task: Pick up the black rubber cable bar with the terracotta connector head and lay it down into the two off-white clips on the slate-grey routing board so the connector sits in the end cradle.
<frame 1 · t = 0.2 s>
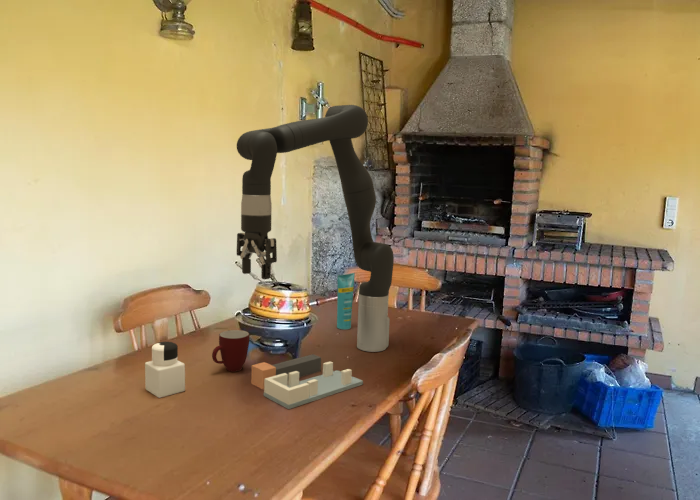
hand: (255, 276, 151), 28 cm above the table, fingers open, 8 cm apart
medicine bottle: (165, 391, 147), on the table
cable bar: (294, 376, 160), on the table
mug: (230, 371, 162), on the table
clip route: (320, 388, 152), on the table
tube: (344, 328, 206), on the table
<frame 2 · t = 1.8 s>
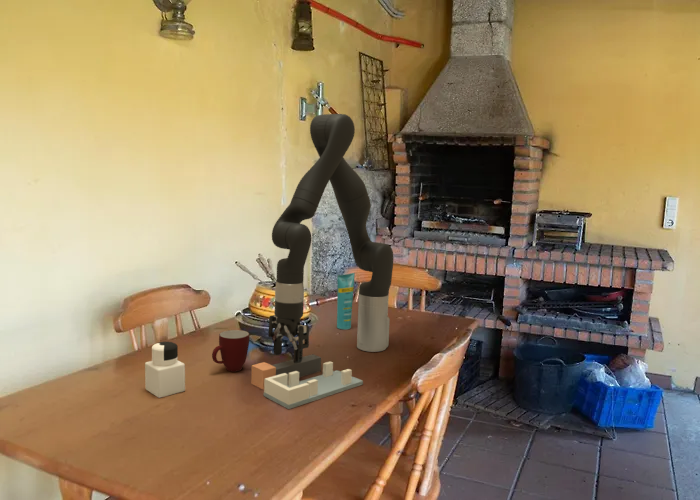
hand: (287, 358, 157), 5 cm above the table, fingers open, 8 cm apart
nothing on the table moved.
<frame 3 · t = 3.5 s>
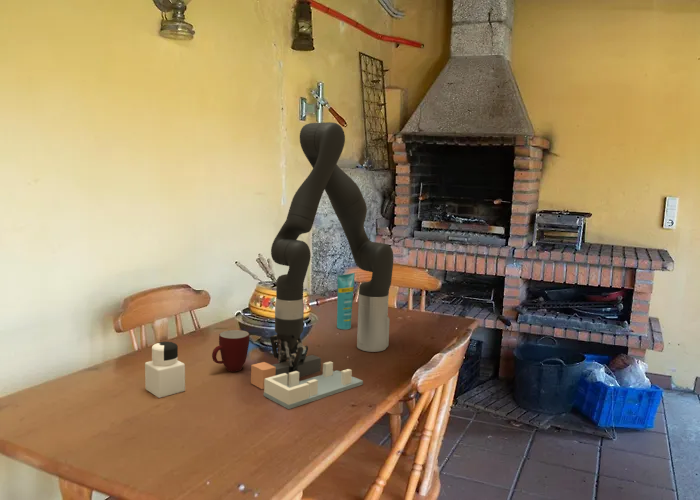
hand: (288, 376, 158), 0 cm above the table, fingers closed on cable bar, 3 cm apart
cable bar: (293, 376, 159), on the table, touching gripper
everything else where it was.
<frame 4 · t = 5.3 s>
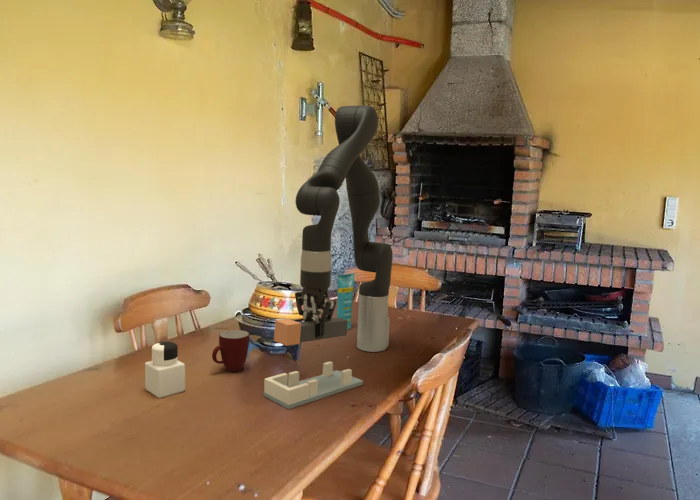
hand: (313, 335, 149), 14 cm above the table, fingers closed on cable bar, 3 cm apart
cable bar: (318, 337, 150), point 13 cm above the table, touching gripper
everything else where it was.
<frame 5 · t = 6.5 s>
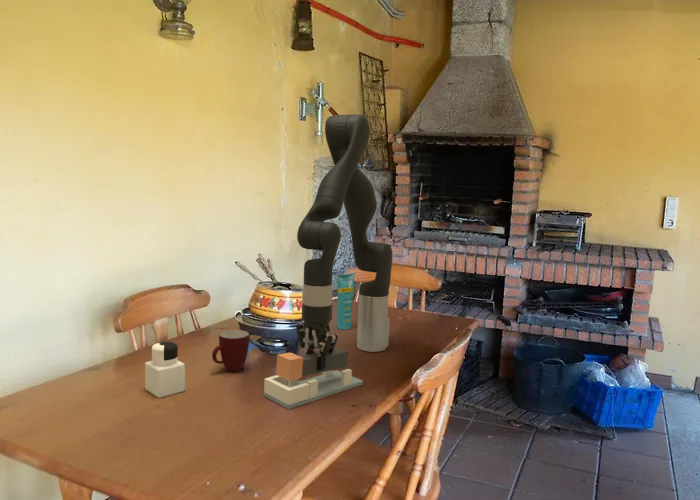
hand: (315, 367, 150), 6 cm above the table, fingers closed on cable bar, 3 cm apart
cable bar: (319, 369, 151), point 5 cm above the table, touching gripper
everything else where it was.
when the fingers open (3 cm above the table, at t = 7.4 s): cable bar stays where it is, resting on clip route.
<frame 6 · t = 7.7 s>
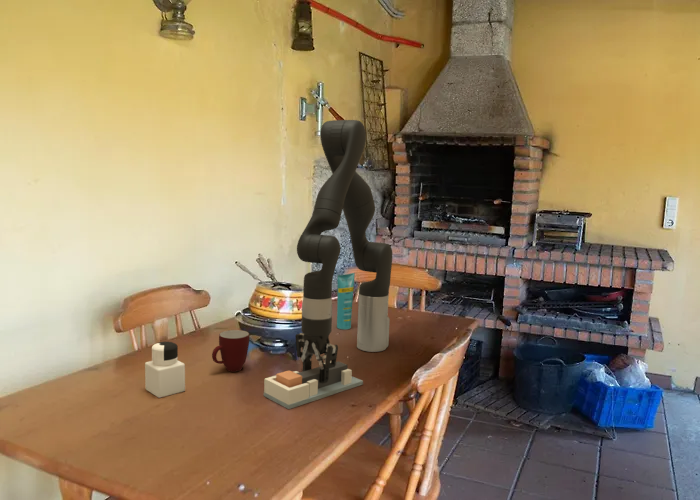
hand: (315, 378, 150), 3 cm above the table, fingers open, 6 cm apart
cable bar: (319, 384, 151), point 1 cm above the table, touching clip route
everything else where it was.
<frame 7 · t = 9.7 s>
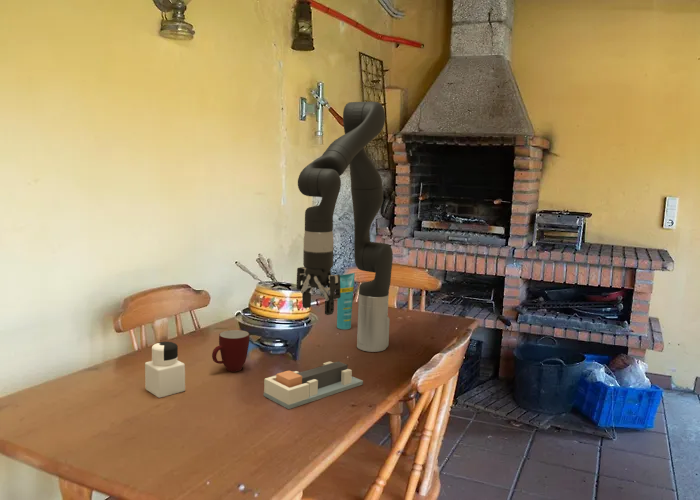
hand: (317, 310, 152), 20 cm above the table, fingers open, 8 cm apart
nothing on the table moved.
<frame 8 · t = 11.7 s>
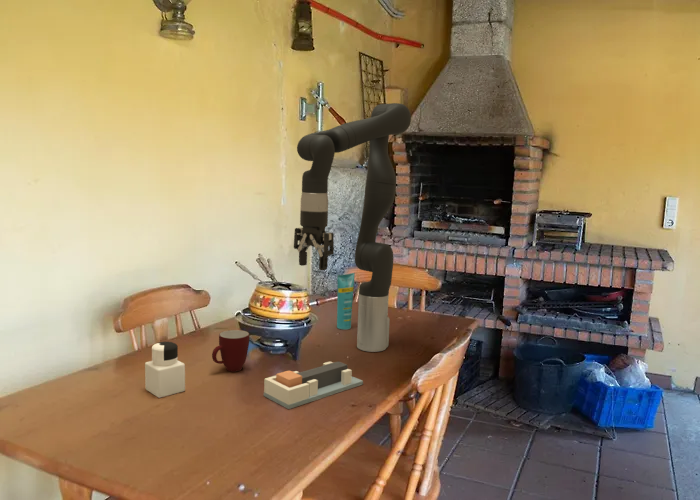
hand: (312, 267, 164), 28 cm above the table, fingers open, 8 cm apart
nothing on the table moved.
at the end: cable bar 0.4 cm off-centre on the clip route, point 1.0 cm above the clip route's base; cable bar tilted 0°; the gripper is holding nothing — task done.
